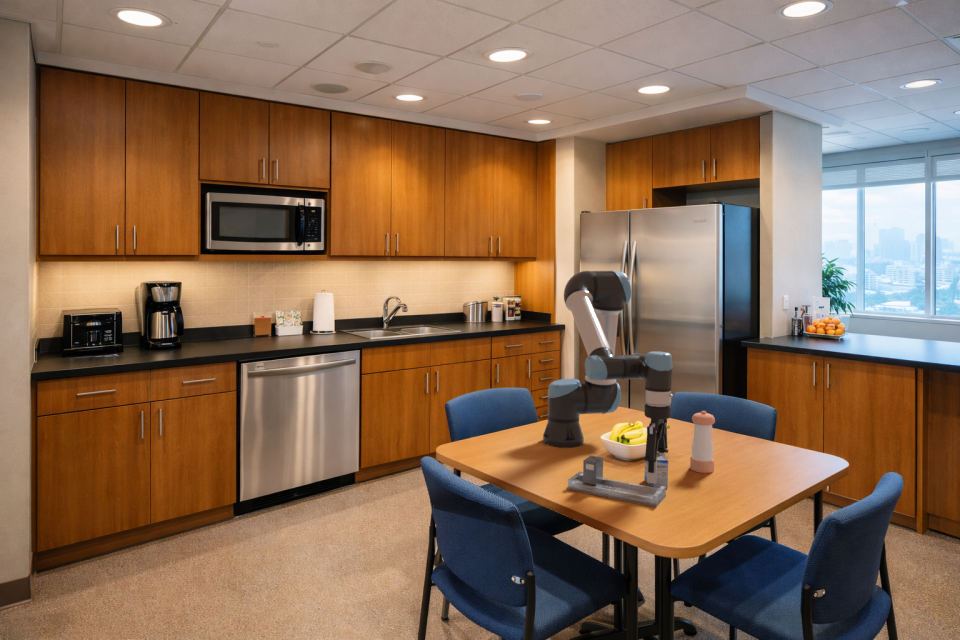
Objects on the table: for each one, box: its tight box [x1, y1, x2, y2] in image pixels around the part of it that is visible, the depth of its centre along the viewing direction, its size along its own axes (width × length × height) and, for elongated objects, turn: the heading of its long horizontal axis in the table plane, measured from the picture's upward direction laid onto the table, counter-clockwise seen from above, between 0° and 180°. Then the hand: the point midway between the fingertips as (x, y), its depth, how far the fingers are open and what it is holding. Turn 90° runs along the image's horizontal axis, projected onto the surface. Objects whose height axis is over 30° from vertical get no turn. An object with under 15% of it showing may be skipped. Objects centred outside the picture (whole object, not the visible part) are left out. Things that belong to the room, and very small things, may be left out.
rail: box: [566, 455, 667, 508], centre depth 177 cm, size 26×10×9 cm, turn 59°
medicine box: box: [643, 452, 669, 489], centre depth 184 cm, size 8×4×9 cm, turn 5°
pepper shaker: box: [689, 410, 716, 474], centre depth 198 cm, size 7×7×19 cm
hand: (655, 478), depth 184 cm, fingers closed on medicine box, 9 cm apart
